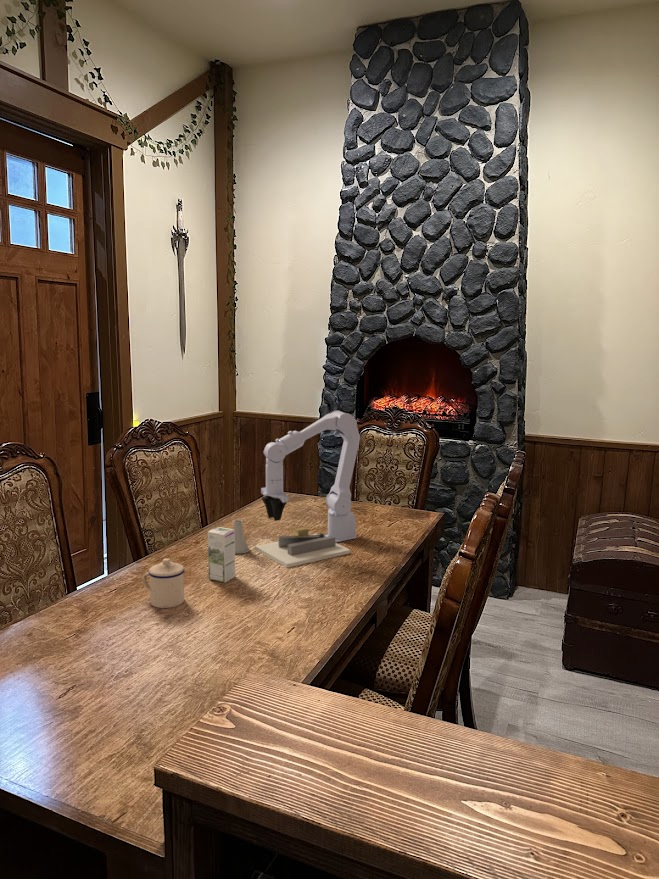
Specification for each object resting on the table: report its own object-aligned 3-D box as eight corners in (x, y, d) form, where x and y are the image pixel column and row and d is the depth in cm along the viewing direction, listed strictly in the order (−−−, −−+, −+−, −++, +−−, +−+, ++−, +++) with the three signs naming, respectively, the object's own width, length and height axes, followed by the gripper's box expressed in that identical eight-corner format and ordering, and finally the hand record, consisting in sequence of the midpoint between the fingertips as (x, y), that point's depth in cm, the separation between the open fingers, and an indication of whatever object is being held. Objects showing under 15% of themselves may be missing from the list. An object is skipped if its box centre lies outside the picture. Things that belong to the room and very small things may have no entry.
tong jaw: (324, 543, 214) (324, 532, 213) (325, 545, 211) (325, 534, 211) (278, 545, 211) (278, 534, 210) (279, 547, 209) (279, 536, 208)
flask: (251, 547, 212) (251, 518, 210) (246, 555, 205) (246, 524, 203) (230, 546, 213) (229, 517, 211) (224, 553, 206) (224, 523, 204)
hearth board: (315, 537, 224) (315, 525, 223) (350, 553, 208) (350, 540, 207) (254, 549, 210) (254, 537, 209) (286, 567, 194) (286, 554, 193)
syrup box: (236, 576, 186) (235, 528, 184) (224, 583, 181) (223, 534, 179) (219, 573, 189) (218, 525, 186) (207, 580, 183) (206, 531, 181)
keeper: (304, 539, 217) (304, 526, 216) (308, 541, 215) (308, 528, 214) (294, 541, 214) (294, 528, 214) (298, 543, 212) (298, 530, 212)
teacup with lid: (191, 598, 171) (191, 556, 169) (172, 611, 162) (171, 567, 161) (153, 591, 175) (152, 550, 173) (132, 604, 166) (131, 561, 165)
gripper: (253, 476, 215) (253, 515, 218) (275, 484, 204) (275, 526, 206) (271, 473, 219) (271, 512, 222) (293, 482, 208) (293, 522, 210)
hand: (274, 518), depth 214 cm, fingers open, 3 cm apart
